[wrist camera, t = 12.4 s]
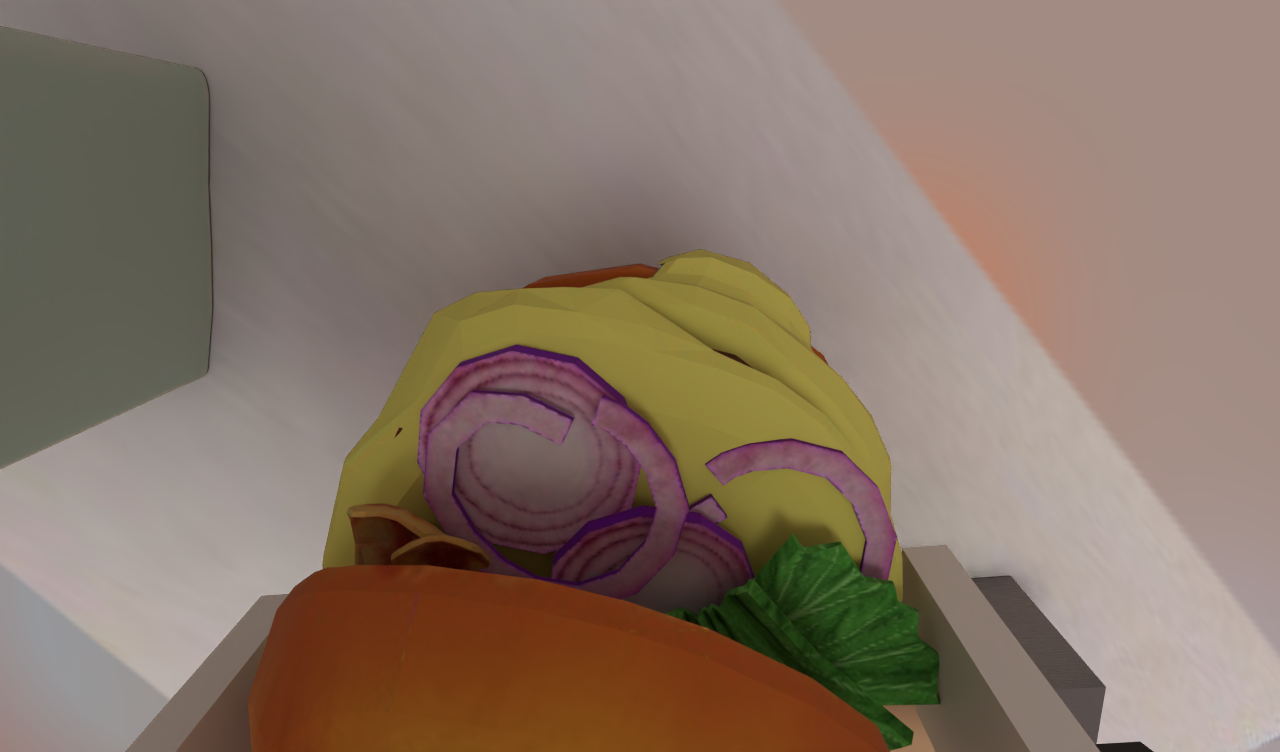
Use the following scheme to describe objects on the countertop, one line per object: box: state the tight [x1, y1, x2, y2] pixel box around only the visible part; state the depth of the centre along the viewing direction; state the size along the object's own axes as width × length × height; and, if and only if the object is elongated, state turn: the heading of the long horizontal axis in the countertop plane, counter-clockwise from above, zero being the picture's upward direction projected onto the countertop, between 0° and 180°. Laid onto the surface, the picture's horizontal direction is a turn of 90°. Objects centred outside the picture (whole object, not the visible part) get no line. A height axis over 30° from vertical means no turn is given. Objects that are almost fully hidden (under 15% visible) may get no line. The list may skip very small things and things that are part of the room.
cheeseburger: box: [248, 249, 941, 752], centre depth 10 cm, size 10×11×10 cm
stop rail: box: [972, 576, 1106, 744], centre depth 25 cm, size 10×2×6 cm, turn 6°
